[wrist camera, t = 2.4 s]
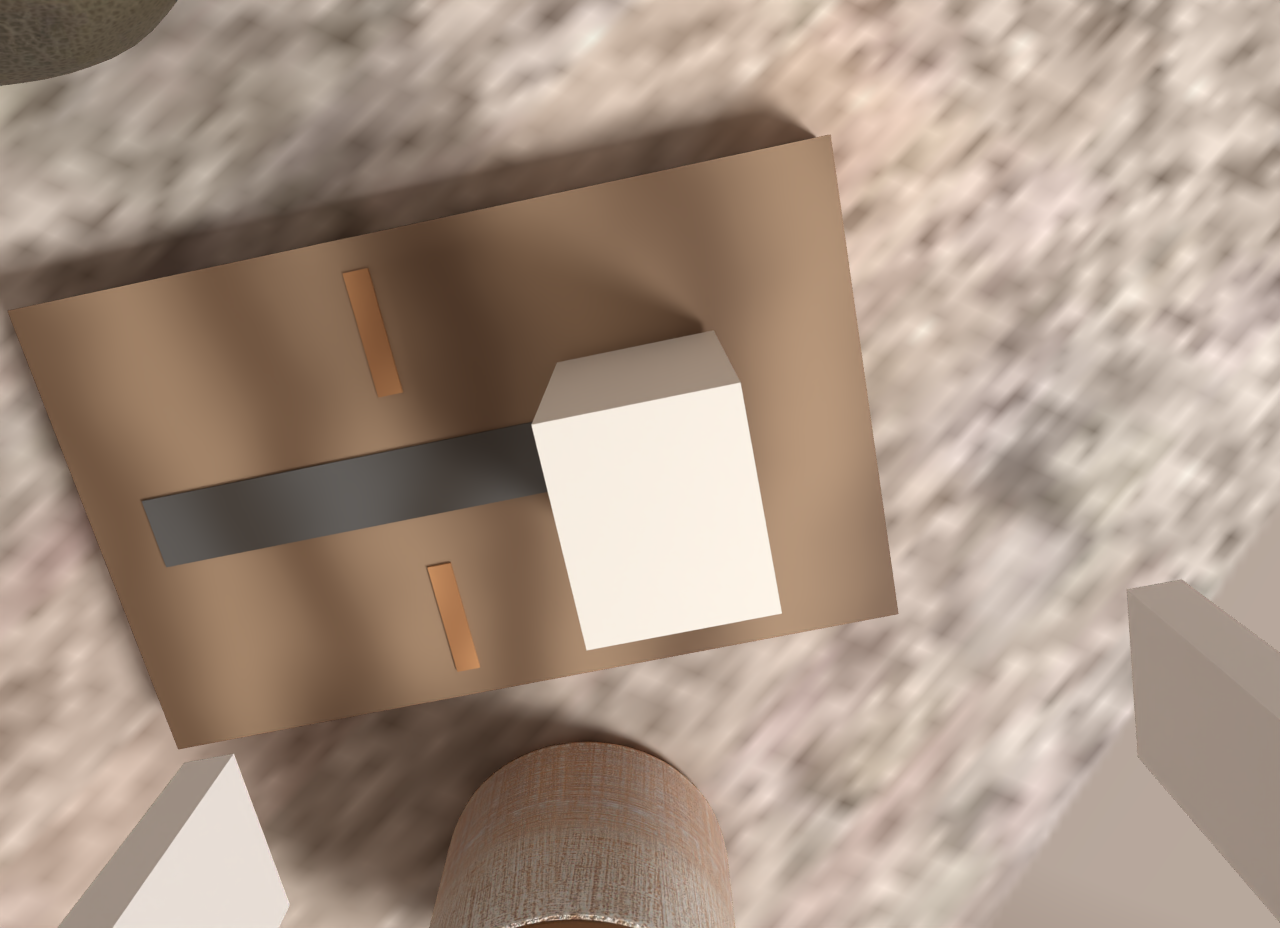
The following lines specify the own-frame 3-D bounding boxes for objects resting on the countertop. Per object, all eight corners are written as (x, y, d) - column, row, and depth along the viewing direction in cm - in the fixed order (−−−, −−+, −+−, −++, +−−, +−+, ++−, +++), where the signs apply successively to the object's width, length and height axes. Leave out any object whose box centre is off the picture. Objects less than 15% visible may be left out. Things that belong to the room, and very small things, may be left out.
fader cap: (597, 537, 32) (586, 650, 25) (556, 362, 31) (531, 424, 23) (746, 508, 32) (782, 613, 24) (713, 330, 30) (740, 382, 23)
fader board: (204, 716, 37) (177, 750, 35) (48, 301, 32) (5, 311, 30) (882, 588, 36) (899, 615, 33) (817, 137, 31) (830, 134, 29)
